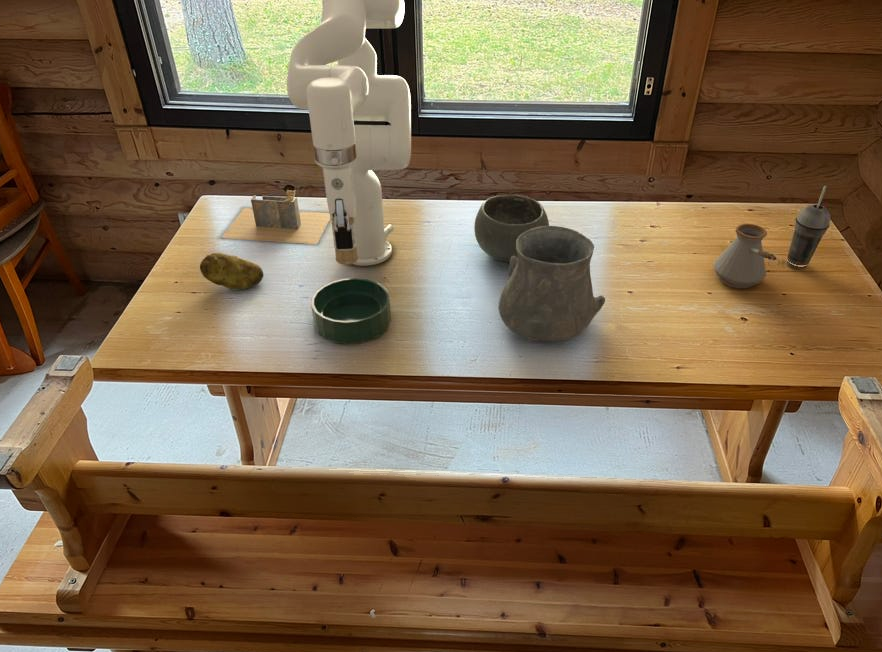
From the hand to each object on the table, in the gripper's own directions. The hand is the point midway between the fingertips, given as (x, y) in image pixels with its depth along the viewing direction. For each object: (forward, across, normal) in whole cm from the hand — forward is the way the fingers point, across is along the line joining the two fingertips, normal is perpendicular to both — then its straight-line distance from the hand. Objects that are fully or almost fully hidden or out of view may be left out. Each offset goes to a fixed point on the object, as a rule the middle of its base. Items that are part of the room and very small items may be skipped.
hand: (344, 240), depth 135 cm
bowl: (+20, +24, -38) cm, 50 cm away
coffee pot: (+20, +2, -88) cm, 90 cm away
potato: (+20, +17, +27) cm, 38 cm away
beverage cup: (+20, +12, -106) cm, 109 cm away
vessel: (+20, -6, -42) cm, 46 cm away
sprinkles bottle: (+5, 0, 0) cm, 5 cm away
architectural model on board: (+20, +45, +19) cm, 53 cm away
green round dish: (+20, 0, 0) cm, 20 cm away
